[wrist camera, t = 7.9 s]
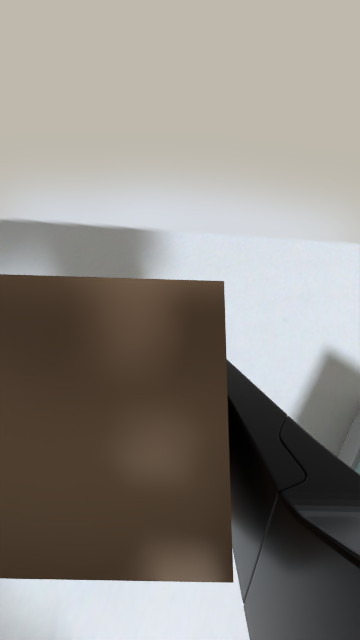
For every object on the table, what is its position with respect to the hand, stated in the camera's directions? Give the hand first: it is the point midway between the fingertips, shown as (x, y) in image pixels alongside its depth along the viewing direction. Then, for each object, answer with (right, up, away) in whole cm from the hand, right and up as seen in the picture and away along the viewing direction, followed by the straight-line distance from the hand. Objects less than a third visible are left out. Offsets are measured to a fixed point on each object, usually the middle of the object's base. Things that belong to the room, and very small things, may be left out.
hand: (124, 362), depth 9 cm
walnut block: (0, -3, +6) cm, 7 cm away
